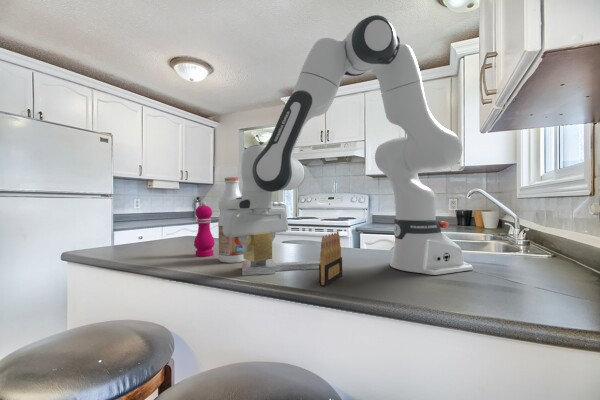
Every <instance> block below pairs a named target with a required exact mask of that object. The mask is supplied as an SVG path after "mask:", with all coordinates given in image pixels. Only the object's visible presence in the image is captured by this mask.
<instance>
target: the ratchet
mask: <svg viewBox="0 0 600 400" xmlns="http://www.w3.org/2000/svg"><path fill="white" fill-rule="evenodd" d="M319 264H320V260H307V261H290V262H289V261H287V262H286V261H285V262H275V261H274V259H269V260H263V261H257V262H252V261H249V260H245V261H242V268H241V275H242V276H257V275H259V276H261V275H274V274H275V275H276V272H281V271H300V270H303V271H304V270H319Z"/></svg>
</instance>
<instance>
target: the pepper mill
mask: <svg viewBox="0 0 600 400" xmlns="http://www.w3.org/2000/svg"><path fill="white" fill-rule="evenodd" d="M194 215H195V217H197V218H196V223H197V225H198V227H197V228H198V230H197V233H196V236H195V238H194V243H193V246H194V248H195V249H196V251H195V257H198V258H207V257H212V256H214V249H213V248H214V246H215V239H214V236H213V234H212V232H211V226H210V225H211V223H212V218H211V217H212V216H213V209H212V208H211V206H209V205H207V202H206V200H205V201H204V200H203V201H202V202H200V205H199V206H197V207H196V209H195V214H194Z"/></svg>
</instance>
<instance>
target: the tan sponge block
mask: <svg viewBox="0 0 600 400" xmlns="http://www.w3.org/2000/svg"><path fill="white" fill-rule="evenodd" d="M245 241H246V243H247V245H250V251H249V252H243V259H246V260H245V261H252V262H257V261H263V260H273V242H272V233H261V234H252V235H249V236H247V240H245Z"/></svg>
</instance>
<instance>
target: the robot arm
mask: <svg viewBox="0 0 600 400" xmlns="http://www.w3.org/2000/svg"><path fill="white" fill-rule="evenodd" d="M396 33H397V32H396V29H395V27H394V26H393V25H392V23H391V21H389V20H388V18H386V17H385V16H382V15H379V14H376V15H375V14H374V15H370V16H367V17H365V18H363V19H362V20H360V21H359V22H358V23H357V24H356V26H354V28H352V29H351V30H350V32H349V33H348V34H347V35H346V36H345V38H344V39H343V40H342V41H341V40H337V39H334V38H331V37H323V38H320V39H317V41H316V42H314V44H313V46H312V48H310V51H309V53H308V54H307V57H306V59H305V61H304V62H303V65H302V68H301V70H300V72H299V75H298V78H297V81H296V83H295V86H294V89H293V91H292V93H291V95H290V96H289V98H288V99H287V102H285V105H284V107H283V109H282V112H281V114H280V115H279V118H278V120H277V122H276V125H275V127H274V130H273V131H272V134H271V136H270V138H269V140H268V142H267V144H254V145H251V146H248V147H247V148H245V149H244V151H243V153H242V156H241V171H240V174H241V177H240V178H241V181H242V188H241V195H242V196H240V197H238V198H235V199H232V200H229V201H227V202H226V203H225V207H226V209H228V210H227V211H226V212H225V213H224V217H223V234H224V235H225V236H226V237H239V241H240V242H241V244H242V245H243V252H249V251H250V245H247V243H246V241H245V240H247V236H249V235H252V234H261V233H272V243H273V242H274V240H275V238H276V233H285V232H287V231H288V229H289V221H288V213H287V205H286V204H285V203H284V202H283V201H273V192H278V191H291V190H295V189H298V188H299V187H300V186H301V185H302V184H303V182H304V180H305V177H306V176H305V175H306V171H305V167H304V165H303V164H302V162H301V161H300V160H298V159H296V158H295V157H293V155H292V154H293V152H294V150H295V147H296V145H297V143H298V140H299V138H300V136H301V134H302V131H303V129H304V127H305V125H306V124H307V123H308V122H309V120H312V119H313V118H315V117H320V116H322V115H324V114H325V113H327V112H328V110H329V109H330V107H331V106H332V105H333V102H334V100H335V99H336V96H337V93H338V90H339V88H340V85H341V82H342V79H343V78H344V76H349V77H350V76H351V77H359V76H361V75H364V74H365V73H367V72H369V71H371V72H372V73H373V74H374V75H375V77H376V79H377V80H378V84H379V90H380V93H381V98H382V104H383V107H384V112H385V117H386V120H388V122H389V123H391V124H393V125H395V126H398V127H400V128H401V129H402V130H403V131H404V132H405V134H406V136H402V137H396V138H391V139H390V140H387V141H384V142H383V143H381V144H378V147H377V148H376V150H375V154H374V161H375V164H376V166H377V168H378V170H379V171H380V172H382V173H383V174H384V175H385V176H386V177H387V179H388V180H389V182H390V184H391V187H392V190H393V193H394V204H395V218H394V221H393V235H394V247H393V252H392V258H391V260H390V263H389V264H390V267H391V268H393V269H396V270H400V271H404V272H411V273H417V274H420V273H421V274H425V275H430V276H431V275H433V276H436V275H438V276H439V275H444V274H452V273H460V272H465V271H473V268H474V267H473V265H472V264H470V263H468V262H465V261H464V254H463V251H462V248H461V246H460V245H458V244H457V243H456V242H454V241H453V240H452V239H451V238H449V237H448V236H447V235H445V233H443V232H442V229H448V228H449V226H450V223H449V222H448V221H443V220H442V221H439V220H438V219H436V217H437V216H436V213H437V212H436V209H437V208H436V207H437V206H436V199H437V198H436V194H435V192H434V191H433V189H432V188H430V187H428V186H427V185H425V184H423V183H422V182H421V180H420V178H419V173H423V172H425V173H426V172H437V171H441V170H445V169H448V168H452V167H455V166H456V165H457V164H458V163H459V161H460V159H461V157H462V155H463V144H462V140H461V139H460V137H459V136H458V135H457V134H456V133H455V132H453V131H451V130H450V129H448V128H446V127H445V126H443V125H442V124H440V123H439V122H438V121H437V119H436V118H435V117H434V116H433V114H432V112H431V109H430V108H429V105H428V102H427V98H426V94H425V91H424V86H423V79H422V74H421V72H420V68H419V64H418V61H417V58H416V55H415V53H414V51H413V49H412V48H411V46H410V45H408V44H406V43H400V41H401V39H400V37H399V36H398V35H397V34H396Z"/></svg>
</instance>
